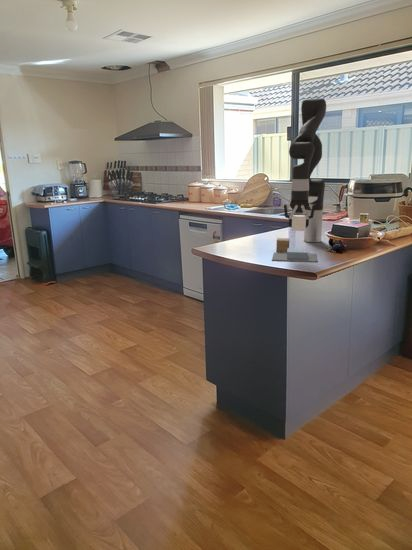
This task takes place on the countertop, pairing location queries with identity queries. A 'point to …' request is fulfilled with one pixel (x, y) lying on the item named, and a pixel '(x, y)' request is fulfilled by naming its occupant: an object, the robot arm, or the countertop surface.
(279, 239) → the walnut block
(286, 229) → the countertop surface
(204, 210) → the countertop surface
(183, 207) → the countertop surface
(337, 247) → the toy
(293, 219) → the white block
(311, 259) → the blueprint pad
